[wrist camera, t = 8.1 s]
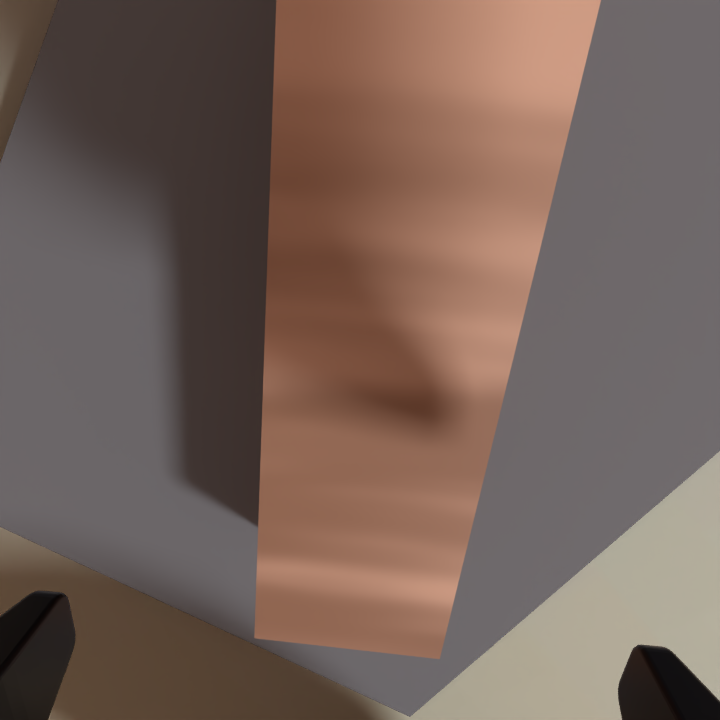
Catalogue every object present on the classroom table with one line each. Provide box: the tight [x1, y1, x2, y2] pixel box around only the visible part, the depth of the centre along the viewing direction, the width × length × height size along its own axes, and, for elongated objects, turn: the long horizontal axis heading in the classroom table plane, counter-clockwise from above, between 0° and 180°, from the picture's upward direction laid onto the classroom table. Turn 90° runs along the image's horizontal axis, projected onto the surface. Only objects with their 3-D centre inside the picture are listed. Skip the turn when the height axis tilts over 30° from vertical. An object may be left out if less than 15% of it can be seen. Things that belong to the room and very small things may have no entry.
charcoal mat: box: [0, 0, 720, 717], centre depth 14 cm, size 20×16×1 cm
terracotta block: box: [254, 0, 601, 659], centre depth 12 cm, size 3×4×13 cm
